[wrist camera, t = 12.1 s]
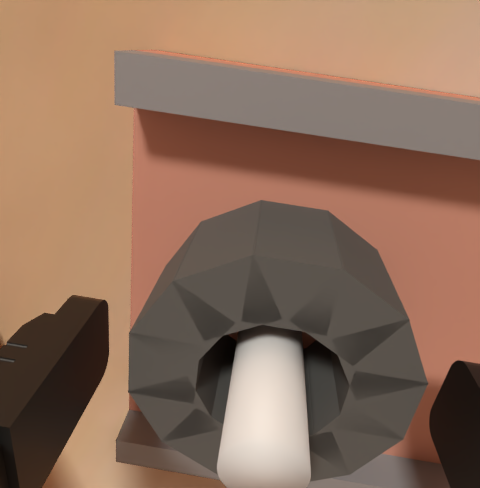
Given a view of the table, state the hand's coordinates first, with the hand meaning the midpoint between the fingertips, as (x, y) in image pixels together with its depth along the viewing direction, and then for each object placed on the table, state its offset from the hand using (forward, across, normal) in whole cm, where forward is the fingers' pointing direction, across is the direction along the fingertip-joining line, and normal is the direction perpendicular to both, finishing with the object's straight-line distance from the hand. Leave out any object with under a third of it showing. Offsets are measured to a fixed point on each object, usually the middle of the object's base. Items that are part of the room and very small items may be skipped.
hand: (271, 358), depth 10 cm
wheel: (+2, 0, 0) cm, 2 cm away
